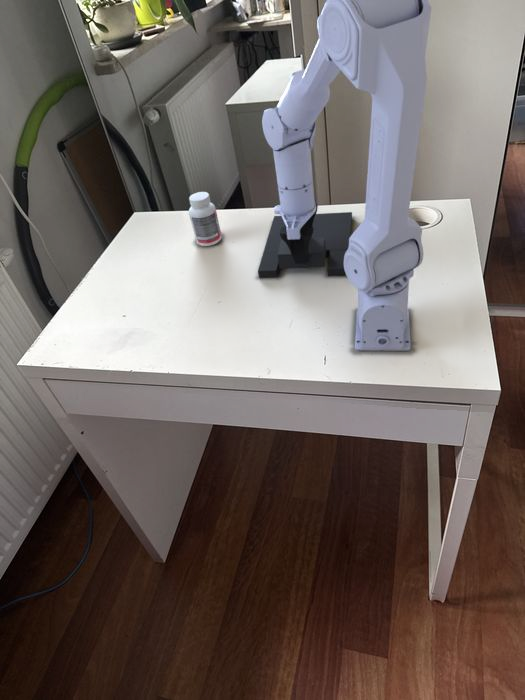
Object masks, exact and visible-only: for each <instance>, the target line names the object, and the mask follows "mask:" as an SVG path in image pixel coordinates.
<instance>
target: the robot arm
mask: <svg viewBox="0 0 525 700" xmlns="http://www.w3.org/2000/svg"><path fill="white" fill-rule="evenodd" d="M325 1H326V2H325V3H324V6H323V8H322V11H321V13H320V14H319V16H318V17H317V20H316V21H317V33H318V40H317V42H316V44H315V46H314V49H313V52H312V54H311V56H310V59H309V61H308V63H307V65H306V68H305V69H300V70H297V71H294V72H292V73H291V74H290V76H289V82H288V84H287V86H286V89H285V91H284V92H283V94H282V95H281V97H280V100H279V101H278V104H277V105H276V107H273V108H272V107H271V108H267V109H265V110H264V111H263V115H262V118H261V126H262V131H263V135H264V138H265V140H266V142H267V144H268V146H269V147H270V148H271V149H272V153H273V160H274V161H273V162H274V168H275V175H276V182H277V189H278V198H279V204H277V205H275V206H274V209H273V213H274V215H279V216H282V218H283V221H284V223H285V225H286V227H281V228H280V237H281V238H282V239H283V240H284V241H285V243H286V244H287V246H288V247H289V249H290V252H291V254H292V257H293V259H294V262H295V263H296V264H299V263H307V259H308V250H309V241H310V239H311V237H312V234H313V230H314V227H312V225H313V220H314V217H315V215H316V214H318V213H317V212H318V209H319V208H318V207H319V206H318V203H316V202H315V192H314V181H313V169H312V159H311V152H312V150H313V148H314V137H315V135H316V131H317V123H316V122H315V121H316V120H317V118H318V117H319V116H320V114H321V113H322V111H323V110H324V108H325V107H326V106H327V104H328V102H329V100H330V97H331V89H330V85H331V84H332V82H333V81H334V80H335V79H336V77H337V76H338V75H339V73H340V72H342V73H343V75H344V76H345V77H346V78H347V79H348V81H350V83H351V84H352V85H353V86H354V88H355V89H357V90H360V91H363V92H365V93H366V92H367V93H369V94H370V97H371V115H370V130H369V131H370V132H369V133H370V134H369V146H368V159H367V160H368V161H367V177H366V188H365V189H366V191H365V192H366V193H365V205H364V206H365V207H364V219H363V221H361V222H360V225H358V227H356V229H355V230H354V232H353V233H351V237H350V238H349V247H348V250H347V251H346V253H345V256H344V270H345V273H346V275H347V276H346V277H347V280H348V281H349V282H350V284H351V285H352V286H353V287H354V288H355V289H357V307H358V308H357V309H356V317H355V318H356V321H355V338H354V350H355V351H395V352H396V351H400V352H401V351H404V352H405V351H406V352H407V351H411V348H412V344H411V343H412V342H411V326H410V325H411V324H410V310H409V308H408V306H409V290H410V289H409V287H410V286H409V285H410V280H411V278H413V277H414V272H415V271H414V269H416V268H418V267H420V266H421V264H422V262H423V260H424V246H423V243H422V234H423V228H422V227H421V225H419V223H418V222H417V221H416V220H415V219H413V218H412V217H410V215H409V213H410V205H411V199H412V191H413V183H414V176H415V169H416V163H417V154H418V147H419V141H420V134H421V133H420V131H421V127H422V120H423V119H422V118H423V111H424V104H425V97H426V96H425V95H426V90H427V89H426V88H427V66H426V64H427V63H426V52H427V45H428V36H429V28H430V21H431V13H432V5H431V4H430V2H429V0H325Z"/></svg>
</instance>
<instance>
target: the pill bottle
mask: <svg viewBox="0 0 525 700" xmlns="http://www.w3.org/2000/svg"><path fill="white" fill-rule="evenodd" d="M188 200H189V205H190V207H189V209H188V215H189V219H190V223H191V226H192V230H193V234H194V238H195V242H196V244H197V245H199V246H202V247H211V246H214V245H216V244H218V243H219V242H220V241H221V240H222V238H223V236H222V231H221V227H220V222H219V218H218V213H217V208H216V206H215V204H214V203H213V202H211V197H210V194H209V193H208V192H207V191H198V192H195V193H193V194H191V195H190V196H189V197H188Z"/></svg>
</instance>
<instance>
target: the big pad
mask: <svg viewBox="0 0 525 700" xmlns="http://www.w3.org/2000/svg"><path fill="white" fill-rule="evenodd" d="M352 225H353V212H352V211H347V212H345V211H344V212H343V211H342V212H324V213H316V215H315V217H314V220H313V225H312V227H314V230H313V234H312V237H311V238H325V244H326V256H325V258H328V265H327V276H328V277H341V276H344V277H345V276H346V277H347V275H346V273H345V270H344V256H345V253H346V251H347V250H348V247H349V238H350V237H351V235H352ZM281 227H286V225H285V223H284V221H283V218H282V216H281V215H274V216H273V219H272V222H271V226H270V229H269V232H268V236H267V239H266V243H265V246H264V249H263V252H262V256H261V260H260V262H259V266H258V270H257V274H258V278H259V279H261V278H263V279H265V278H266V279H267V278H268V279H269V278H278V276H279V272H280V268H279V261H278V251H279V247H280V243H281V240H283V239H282V238H281V237H280V228H281Z"/></svg>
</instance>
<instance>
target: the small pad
mask: <svg viewBox="0 0 525 700" xmlns="http://www.w3.org/2000/svg"><path fill="white" fill-rule="evenodd" d="M325 256H326V244H325V238H311V239H310V241H309V250H308V259H307V263H299V264H296V263H295V262H294V259H293V257H292V254H291V252H290V249H289V247H288V246H287V244H286V243H285V241H284V240H281V243H280V247H279V251H278V261H279V270H282V269H309V268H310V269H311V268H313V269H316V268H325V264H326V263H325V262H326V257H325Z"/></svg>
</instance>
